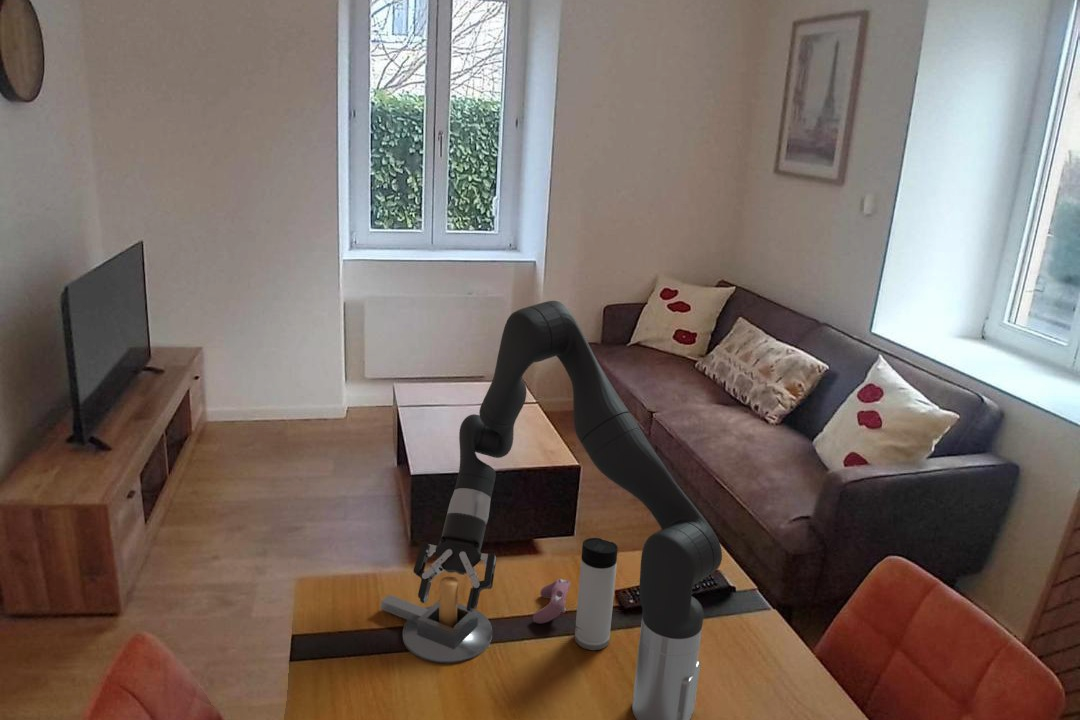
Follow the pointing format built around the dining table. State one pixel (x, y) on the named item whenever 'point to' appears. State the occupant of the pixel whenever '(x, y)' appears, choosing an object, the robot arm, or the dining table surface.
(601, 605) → the travel mug
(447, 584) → the wedge pin
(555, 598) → the video game controller
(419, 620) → the grey handled frame
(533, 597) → the dining table surface
